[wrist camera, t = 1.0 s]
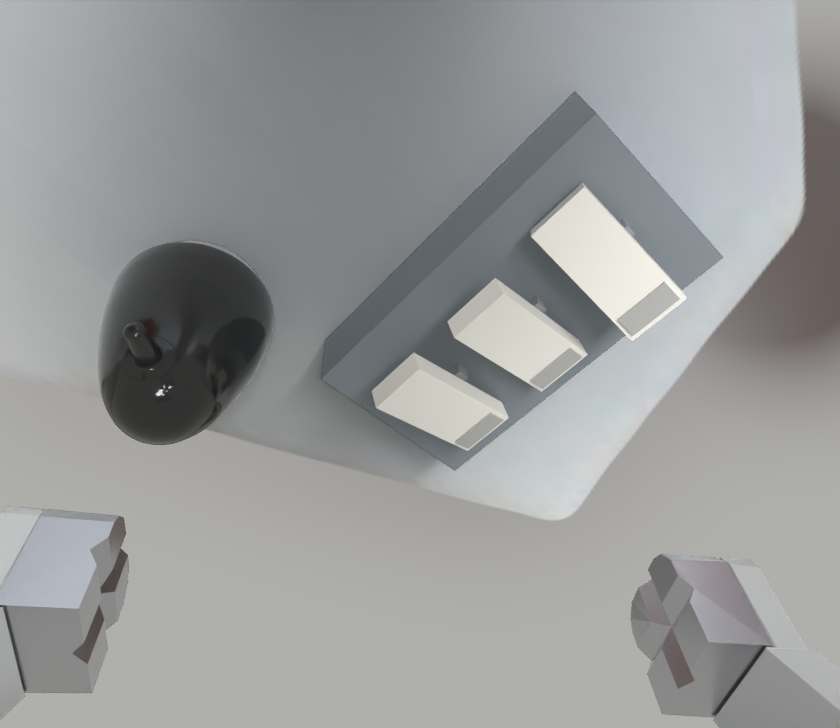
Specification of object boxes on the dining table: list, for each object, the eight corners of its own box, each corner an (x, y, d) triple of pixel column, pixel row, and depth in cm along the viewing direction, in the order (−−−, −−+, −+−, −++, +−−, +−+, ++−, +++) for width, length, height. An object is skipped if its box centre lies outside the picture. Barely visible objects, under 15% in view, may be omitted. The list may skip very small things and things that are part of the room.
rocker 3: (582, 182, 40) (584, 187, 38) (681, 290, 42) (687, 299, 40) (530, 230, 41) (530, 236, 40) (628, 332, 43) (632, 342, 42)
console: (574, 91, 42) (601, 118, 37) (695, 227, 48) (732, 266, 43) (325, 340, 51) (319, 388, 46) (451, 430, 57) (458, 481, 52)
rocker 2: (495, 277, 41) (504, 295, 39) (578, 339, 46) (588, 356, 45) (447, 321, 42) (454, 339, 41) (533, 376, 48) (542, 393, 46)
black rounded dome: (272, 215, 46) (234, 338, 33) (286, 347, 51) (258, 494, 39) (114, 215, 45) (14, 340, 33) (146, 348, 51) (72, 498, 38)
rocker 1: (413, 352, 43) (420, 370, 42) (501, 402, 49) (509, 419, 48) (371, 391, 45) (376, 409, 44) (461, 435, 50) (468, 452, 49)
